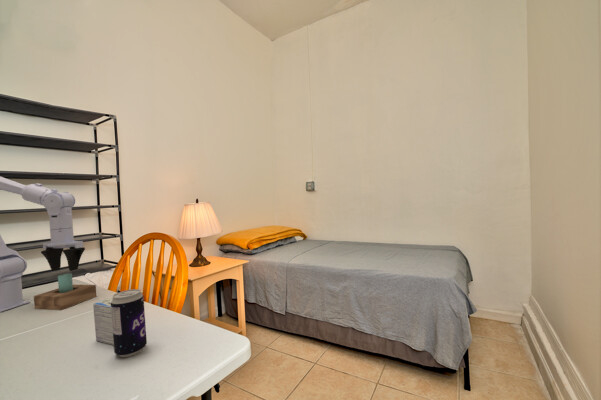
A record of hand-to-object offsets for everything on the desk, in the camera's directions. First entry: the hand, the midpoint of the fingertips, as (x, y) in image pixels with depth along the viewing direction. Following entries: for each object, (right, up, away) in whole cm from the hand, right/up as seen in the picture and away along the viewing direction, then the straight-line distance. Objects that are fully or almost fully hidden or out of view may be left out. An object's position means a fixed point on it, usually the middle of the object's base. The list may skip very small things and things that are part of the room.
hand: (64, 270), depth 91 cm
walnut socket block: (+1, -10, -1) cm, 10 cm away
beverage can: (+43, -8, -34) cm, 55 cm away
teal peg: (+1, -9, -1) cm, 9 cm away
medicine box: (+36, -9, -29) cm, 47 cm away
